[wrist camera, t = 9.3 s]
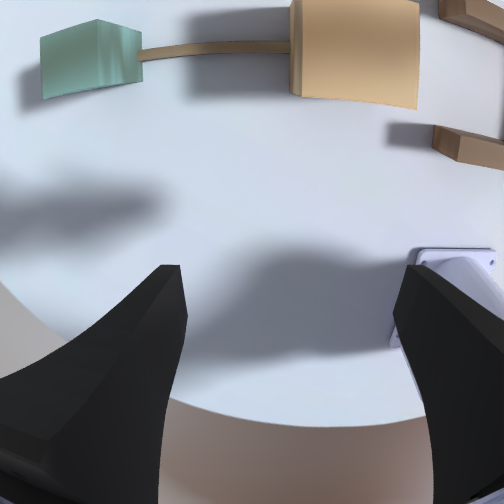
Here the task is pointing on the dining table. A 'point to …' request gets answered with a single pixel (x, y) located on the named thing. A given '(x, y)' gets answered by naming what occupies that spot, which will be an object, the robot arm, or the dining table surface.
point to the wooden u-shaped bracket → (457, 141)
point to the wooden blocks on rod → (300, 48)
